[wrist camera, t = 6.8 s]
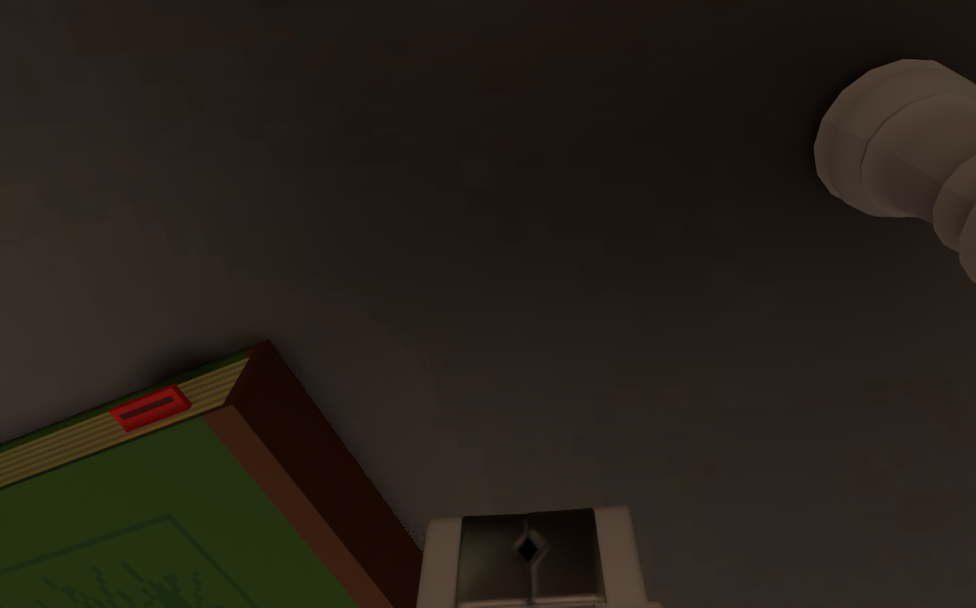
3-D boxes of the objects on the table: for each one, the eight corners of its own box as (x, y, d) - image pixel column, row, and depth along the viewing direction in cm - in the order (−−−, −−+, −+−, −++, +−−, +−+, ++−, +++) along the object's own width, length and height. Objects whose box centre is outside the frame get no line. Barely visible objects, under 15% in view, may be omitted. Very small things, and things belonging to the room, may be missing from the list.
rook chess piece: (782, 183, 21) (911, 315, 15) (853, 37, 19) (1045, 111, 12) (910, 215, 22) (1096, 358, 15) (995, 76, 20) (1258, 169, 13)
